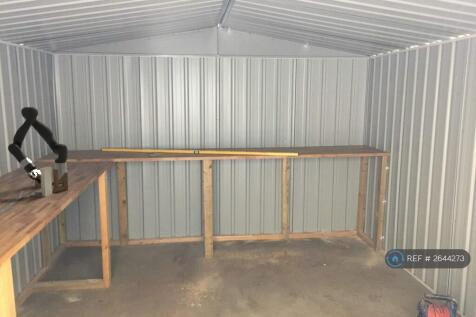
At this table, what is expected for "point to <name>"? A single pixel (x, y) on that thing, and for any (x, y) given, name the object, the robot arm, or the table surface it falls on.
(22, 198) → the table surface
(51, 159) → the table surface
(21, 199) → the table surface
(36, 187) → the brown rectangular block
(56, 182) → the wooden rod assembly
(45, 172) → the grey stand
